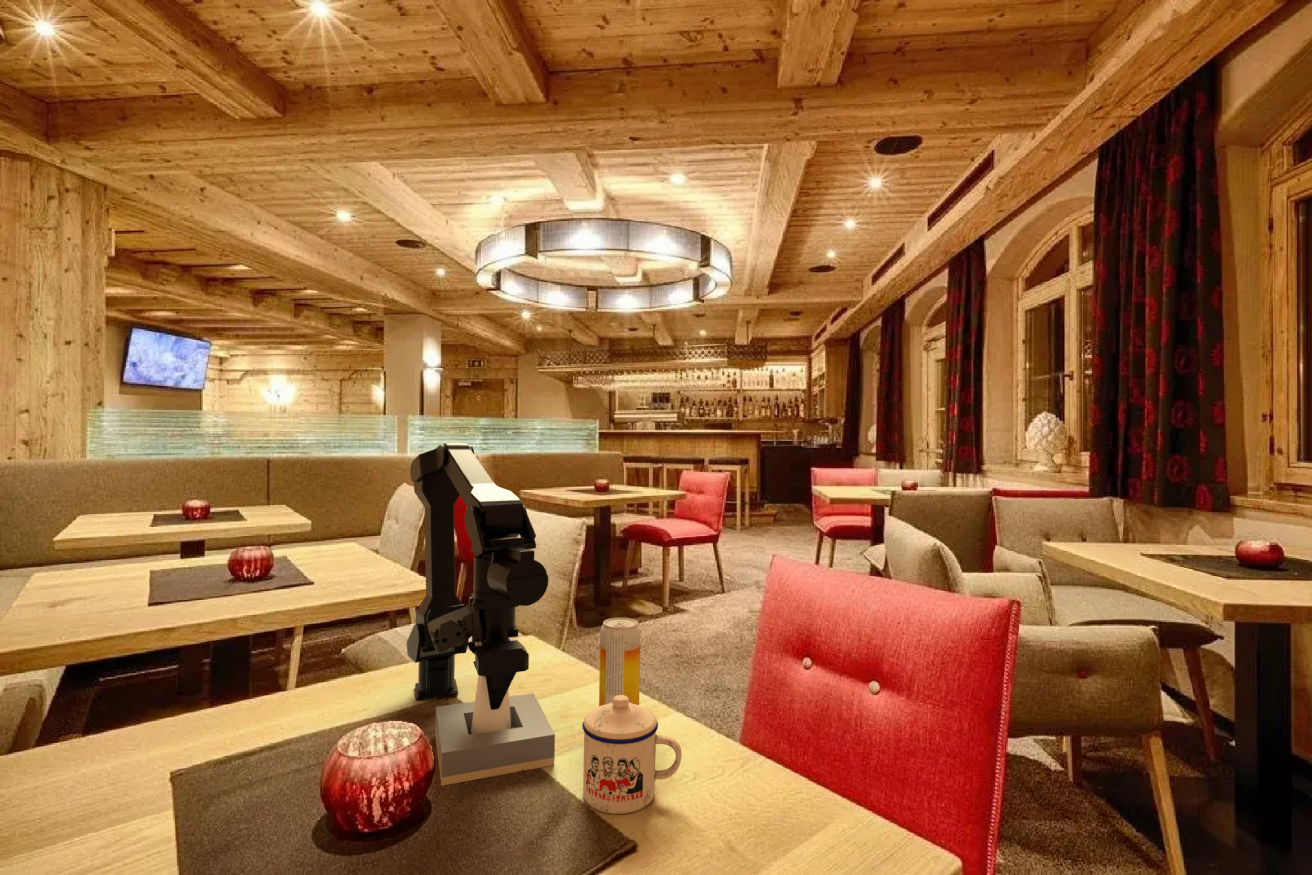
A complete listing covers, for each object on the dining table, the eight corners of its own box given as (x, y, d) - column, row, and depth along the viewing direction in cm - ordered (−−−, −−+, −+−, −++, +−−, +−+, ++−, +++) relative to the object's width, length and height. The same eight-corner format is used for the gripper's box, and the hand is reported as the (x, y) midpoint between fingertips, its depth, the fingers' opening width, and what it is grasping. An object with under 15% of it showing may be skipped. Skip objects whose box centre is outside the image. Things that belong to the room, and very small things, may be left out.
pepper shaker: (489, 747, 83) (491, 667, 82) (462, 733, 86) (464, 655, 85) (519, 729, 87) (522, 653, 86) (492, 716, 90) (495, 642, 89)
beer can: (641, 713, 97) (642, 617, 98) (636, 732, 91) (638, 629, 91) (602, 711, 98) (604, 615, 98) (595, 729, 92) (597, 627, 92)
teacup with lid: (572, 813, 71) (574, 711, 71) (590, 771, 80) (592, 680, 81) (677, 822, 70) (679, 718, 70) (683, 778, 79) (685, 686, 79)
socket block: (435, 734, 89) (435, 706, 89) (533, 719, 95) (533, 693, 95) (441, 785, 77) (442, 752, 77) (554, 764, 82) (554, 734, 82)
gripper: (429, 578, 91) (427, 685, 91) (436, 612, 74) (433, 744, 74) (506, 573, 96) (504, 675, 96) (530, 604, 78) (528, 729, 78)
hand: (492, 702), depth 86 cm, fingers closed on pepper shaker, 4 cm apart
